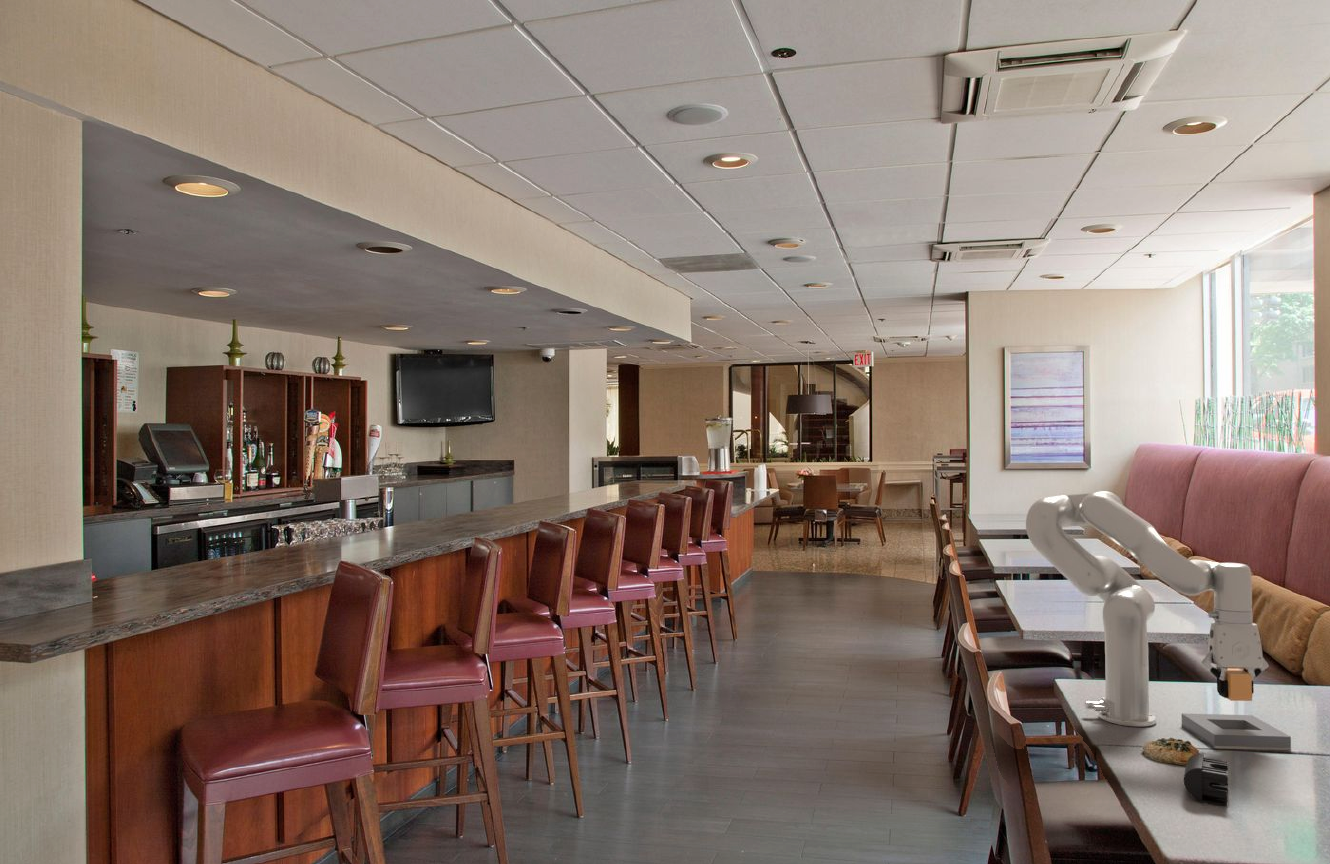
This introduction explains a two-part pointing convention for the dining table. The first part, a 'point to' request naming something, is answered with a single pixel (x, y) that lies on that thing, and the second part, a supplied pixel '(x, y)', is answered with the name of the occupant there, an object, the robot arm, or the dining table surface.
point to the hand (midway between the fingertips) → (1235, 695)
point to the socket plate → (1236, 732)
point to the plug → (1239, 685)
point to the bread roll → (1170, 750)
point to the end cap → (1207, 780)
